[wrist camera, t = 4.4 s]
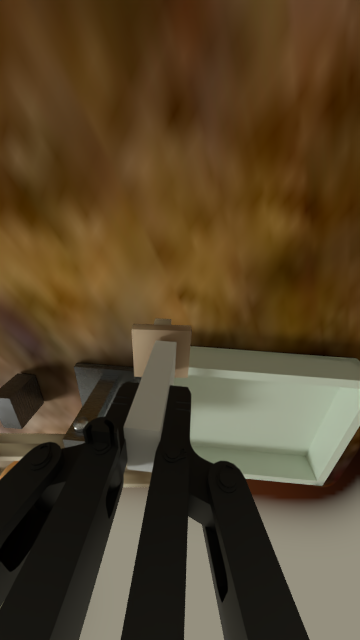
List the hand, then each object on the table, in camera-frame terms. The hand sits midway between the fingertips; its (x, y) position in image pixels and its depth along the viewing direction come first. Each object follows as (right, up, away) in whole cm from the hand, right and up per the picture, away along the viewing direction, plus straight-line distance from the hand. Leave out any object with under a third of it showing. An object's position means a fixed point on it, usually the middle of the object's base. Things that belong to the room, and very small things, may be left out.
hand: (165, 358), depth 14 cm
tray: (+9, -9, +13) cm, 19 cm away
